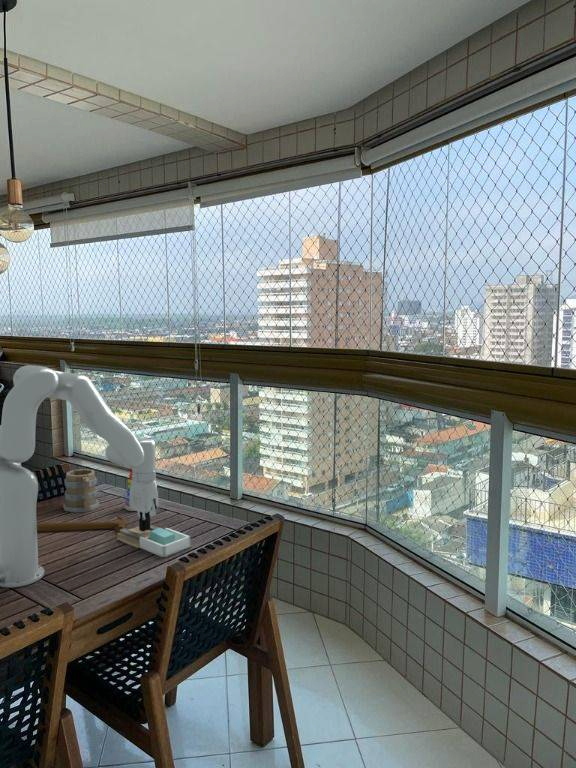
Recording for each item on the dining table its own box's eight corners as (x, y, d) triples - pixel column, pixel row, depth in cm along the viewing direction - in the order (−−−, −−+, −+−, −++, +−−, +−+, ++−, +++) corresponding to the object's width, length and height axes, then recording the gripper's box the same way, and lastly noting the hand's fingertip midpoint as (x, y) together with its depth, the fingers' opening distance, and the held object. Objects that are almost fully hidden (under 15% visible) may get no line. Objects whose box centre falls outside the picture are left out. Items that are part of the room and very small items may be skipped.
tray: (163, 557, 169) (163, 546, 169) (139, 547, 176) (139, 537, 176) (190, 546, 177) (190, 536, 177) (166, 537, 185) (166, 527, 185)
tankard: (62, 504, 218) (61, 467, 216) (95, 500, 224) (94, 464, 222) (68, 520, 200) (67, 480, 199) (104, 515, 206) (103, 476, 205)
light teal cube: (165, 549, 174) (164, 537, 173) (157, 546, 176) (156, 534, 176) (174, 545, 177) (174, 533, 177) (166, 542, 179) (166, 530, 179)
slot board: (137, 547, 176) (137, 538, 176) (117, 539, 183) (116, 530, 183) (167, 537, 186) (166, 528, 185) (146, 529, 192) (146, 521, 192)
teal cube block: (157, 546, 177) (157, 534, 176) (150, 542, 179) (149, 531, 179) (167, 542, 180) (167, 530, 179) (159, 539, 182) (159, 527, 182)
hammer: (32, 536, 185) (124, 534, 189) (32, 527, 185) (124, 525, 188) (44, 524, 197) (130, 522, 200) (44, 516, 196) (130, 514, 200)
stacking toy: (142, 512, 210) (142, 464, 208) (122, 511, 210) (121, 463, 208) (148, 505, 218) (147, 459, 216) (128, 505, 218) (127, 458, 216)
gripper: (120, 474, 183) (121, 527, 185) (148, 482, 174) (149, 538, 175) (139, 470, 189) (140, 521, 191) (167, 477, 179) (168, 532, 181)
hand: (144, 529), depth 183 cm, fingers closed
